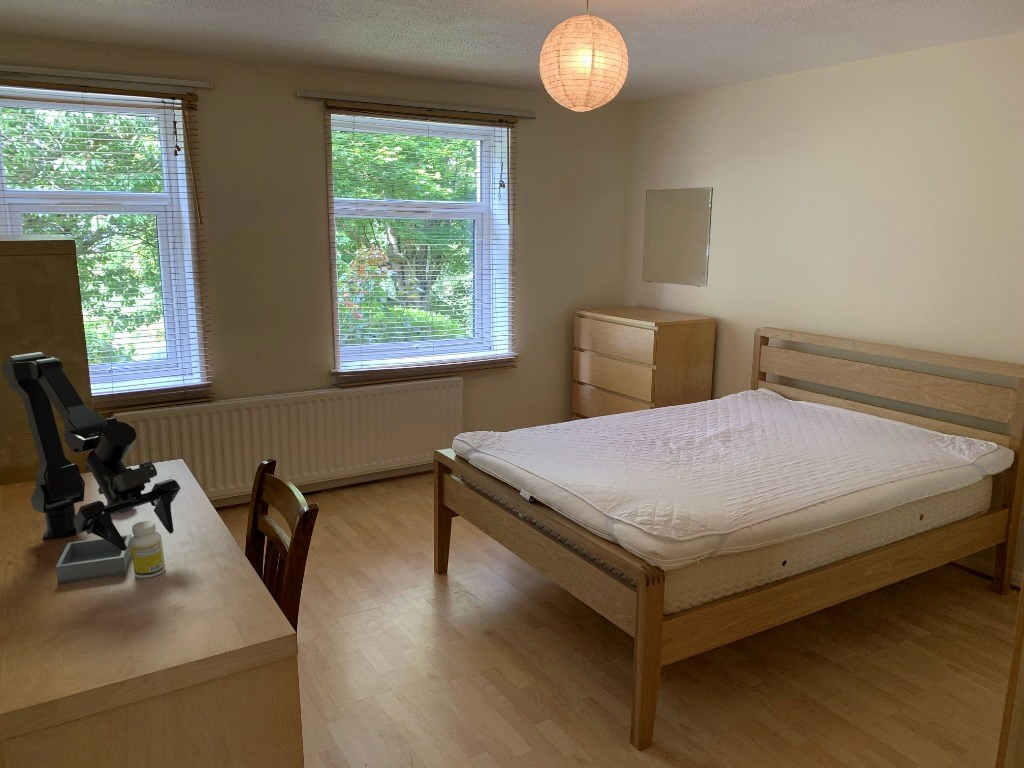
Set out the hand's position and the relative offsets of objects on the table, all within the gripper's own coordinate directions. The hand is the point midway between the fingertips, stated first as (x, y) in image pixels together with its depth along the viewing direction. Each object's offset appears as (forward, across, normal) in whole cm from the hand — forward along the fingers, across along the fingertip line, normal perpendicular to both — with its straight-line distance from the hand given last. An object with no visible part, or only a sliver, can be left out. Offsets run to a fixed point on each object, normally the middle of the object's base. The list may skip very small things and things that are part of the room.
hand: (149, 540), depth 143 cm
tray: (-4, -4, +14) cm, 15 cm away
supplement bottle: (+4, 0, +6) cm, 7 cm away
